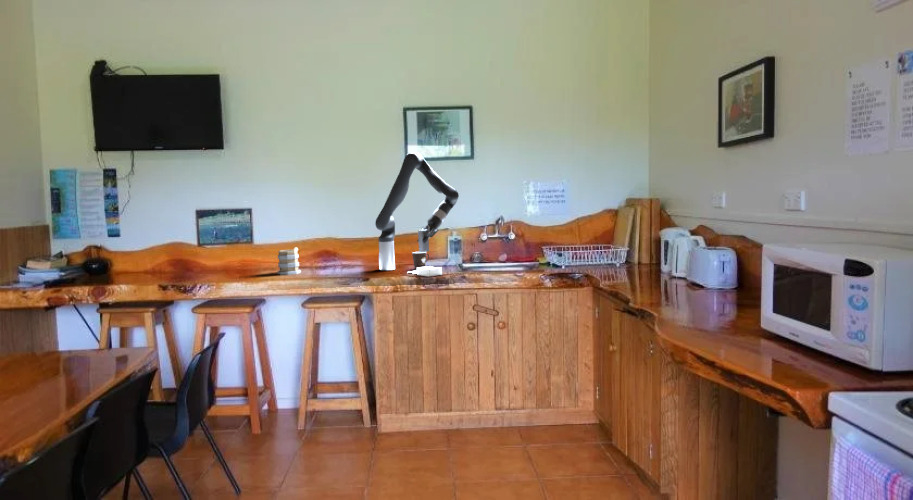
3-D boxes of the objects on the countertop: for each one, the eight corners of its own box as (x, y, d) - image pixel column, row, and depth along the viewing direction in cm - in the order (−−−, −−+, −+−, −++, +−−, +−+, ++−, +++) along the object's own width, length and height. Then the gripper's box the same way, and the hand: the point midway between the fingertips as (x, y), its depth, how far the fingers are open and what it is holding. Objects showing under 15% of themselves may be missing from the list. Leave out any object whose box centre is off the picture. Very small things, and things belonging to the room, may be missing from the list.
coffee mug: (415, 270, 348) (414, 253, 347) (410, 268, 356) (410, 252, 355) (433, 268, 352) (433, 252, 351) (428, 267, 360) (428, 251, 359)
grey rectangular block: (419, 251, 324) (417, 230, 323) (425, 251, 327) (423, 229, 326) (423, 252, 321) (422, 230, 320) (429, 251, 324) (428, 229, 323)
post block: (407, 273, 334) (407, 266, 333) (421, 271, 340) (420, 265, 339) (428, 276, 318) (428, 269, 318) (442, 274, 324) (441, 267, 324)
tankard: (294, 274, 344) (292, 249, 343) (274, 274, 347) (272, 249, 345) (309, 270, 364) (307, 246, 362) (290, 270, 366) (289, 246, 365)
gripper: (425, 214, 332) (409, 237, 326) (440, 214, 321) (424, 237, 315) (433, 223, 336) (417, 246, 330) (448, 223, 325) (432, 246, 319)
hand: (420, 241), depth 322 cm, fingers closed on grey rectangular block, 4 cm apart
